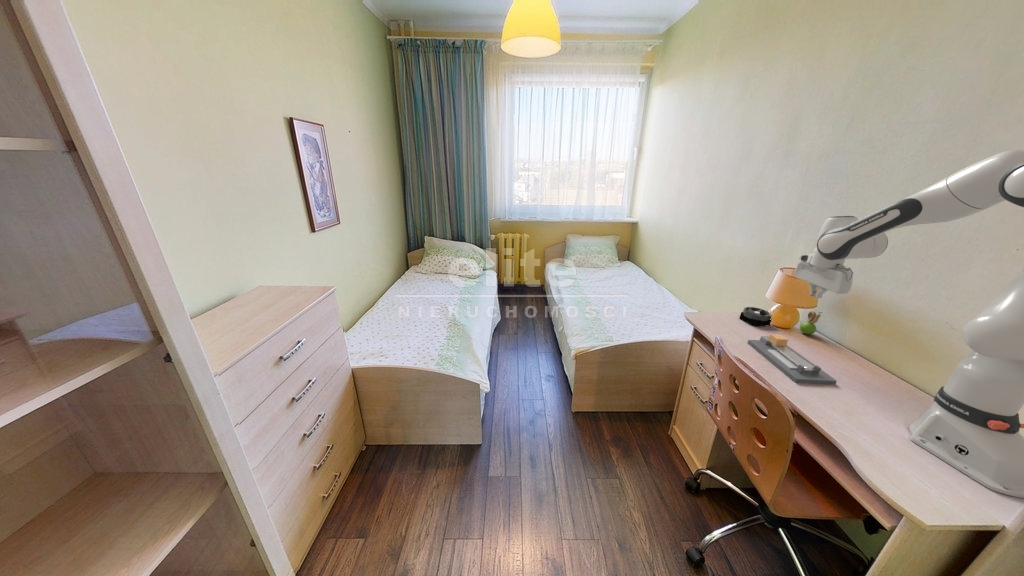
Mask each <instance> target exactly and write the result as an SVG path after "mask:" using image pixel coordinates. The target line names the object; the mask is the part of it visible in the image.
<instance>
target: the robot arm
mask: <svg viewBox="0 0 1024 576" xmlns="http://www.w3.org/2000/svg"><path fill="white" fill-rule="evenodd" d="M1004 201H1007V202H1009V203H1011V204H1014V205H1016V206H1018V207H1020V208H1021V207H1022V208H1024V150H1022V149H1012V150H1005V151H1003V152H999V153H997V154H994V155H990V156H989V157H986V158H984V159H981V160H980V161H979V160H978V161H976V162H975V163H973V164H970V165H968V166H967V167H964V168H961V169H960V170H958V171H956V172H954V173H952V174H951V175H949V176H947V177H945V178H943V179H941V180H939V181H938V182H936V183H933V184H932V185H930V186H928V187H926V188H924V189H921V190H920V191H918V192H916V193H914V194H911V195H909V196H908V197H906V198H905V197H904V198H903V199H900V200H899V201H897V202H895V203H893V204H890V205H887V206H885V207H882V208H881V209H879V210H876V211H874V212H872V213H871V214H869V215H866V216H864V217H862V218H858V217H857V216H853V215H842V216H841V215H838V216H837V215H836V216H830V217H828V218H826V219H825V221H824V222H823V224H822V226H821V228H820V229H819V233H818V236H817V240H816V241H817V242H816V246H815V248H814V249H813V252H812V253H806V254H800V255H799V258H798V260H799V261H798V262H797V264H796V267H795V270H794V277H795V278H796V279H799V280H800V281H804V282H806V283H809V284H808V287H809V296H811V297H813V298H816V299H822V297H823V295H824V294H825V293H826V292H829V291H830V292H831V293H832V292H833V293H835V294H837V295H838V294H839V295H840V294H841V295H842V294H843V295H847V294H848V293H850V292H851V290H852V289H851V288H852V284H853V279H854V272H853V270H852V269H851V267H848V266H844V264H845V261H846V260H851V259H852V260H853V259H854V260H855V259H871V258H876V257H879V256H881V255H882V254H883V253H885V251H886V250H887V248H888V246H889V245H888V244H889V238H888V236H887V234H886V233H887V232H890V231H892V230H895V229H900V228H903V227H910V226H918V225H929V224H938V223H939V224H940V223H947V222H948V223H949V222H952V221H956V220H960V219H962V218H963V219H964V218H966V217H969V216H973V215H974V214H977V213H980V212H982V211H984V210H987V209H989V208H992V207H994V206H995V205H997V204H999V203H1002V202H1004ZM961 336H962V339H963V342H964V343H965V345H966V346H968V348H969V349H971V351H970V352H969V353H968V354H967V355H966V356H964V357H963V358H962V359H961V360H960V361H959V362H958V363H957V364H956V367H955V368H954V369H953V372H952V373H951V374H950V376H949V378H948V379H947V381H946V382H945V384H944V385H943V386H941V387H940V388H939V389H938V391H937V393H935V395H934V398H933V403H931V405H930V407H928V409H927V410H926V411H925V412H924V413H923V414H922V415H921V416H920V417H919V418H918V419H916V420H915V421H913V422H912V423H910V424H909V427H908V428H909V431H910V434H911V435H910V437H909V439H910V441H912V442H913V443H915V444H916V445H918V446H919V447H921V448H923V449H924V450H925V451H928V452H929V453H931V454H932V455H934V456H936V457H937V458H939V459H940V460H942V461H944V462H945V463H946V464H948V465H950V466H952V467H953V468H955V469H956V470H958V471H960V472H961V473H962V474H964V475H966V476H968V477H970V478H971V479H972V480H974V481H976V482H977V483H979V484H981V485H982V486H984V487H985V488H987V489H989V490H991V491H994V492H998V493H1001V494H1004V495H1007V496H1010V497H1015V498H1023V499H1024V437H1023V436H1022V434H1021V433H1020V431H1021V430H1020V429H1024V423H1020V414H1019V413H1018V412H1019V411H1020V410H1021V409H1022V407H1023V406H1024V268H1023V269H1022V270H1021V272H1020V273H1018V275H1017V277H1015V278H1014V280H1012V281H1011V282H1010V283H1009V284H1008V285H1007V286H1006V287H1005V288H1004V289H1003V290H1002V291H1001V292H999V293H998V294H997V295H996V296H995V297H994V298H993V299H992V300H991V301H990V302H988V304H987V305H986V306H985V307H984V308H983V309H982V310H981V311H980V312H979V313H978V314H977V315H976V316H975V317H974V318H972V319H971V320H970V321H968V322H967V323H966V324H965V325H964V327H963V329H962V333H961Z"/></svg>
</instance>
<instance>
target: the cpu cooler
mask: <svg viewBox="0 0 1024 576" xmlns="http://www.w3.org/2000/svg"><path fill="white" fill-rule="evenodd" d="M771 314H772V313H771V312H769V311H768V310H765V309H762V308H761V307H755V306H747V307H743V311H741V312H740V315H739V320H741V321H743V322H744V323H746V324H748V325H750V326H752V327H757V326H758V327H766V326H765V325H770V326H771V322H772V316H773V314H772V315H771ZM770 319H771V320H770Z"/></svg>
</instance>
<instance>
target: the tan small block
mask: <svg viewBox="0 0 1024 576" xmlns="http://www.w3.org/2000/svg"><path fill="white" fill-rule="evenodd" d="M768 341H770V342H771V343H772V344H774V345H775V346H786V345H787V344H788V341H789V339H788V338H786V337H785V336H783V335H782V334H778V333H777V334H776V333H775V334H773V333H770V334H769V339H768ZM787 346H788V345H787Z"/></svg>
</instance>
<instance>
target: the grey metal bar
mask: <svg viewBox="0 0 1024 576" xmlns="http://www.w3.org/2000/svg"><path fill="white" fill-rule="evenodd" d="M772 346H773V347H775V348H776V349H777V350H779V351H780V352H781V353H782V354H784V355H785V356H786V357H787V358H789V359H790V360H791V361H793V362H794V363H795V364H796V365H802V366H803V367H805V368H804V371H816V368H815V367H812V366H811V365H809V364H808V363H807V362H805V361H804V360H803V359H801V358H800V357H799V356H797V355H796V354H795V353H793V352H792V351H791V350H789V349H788V348H787V347H785V346H775V345H774V344H772Z"/></svg>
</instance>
